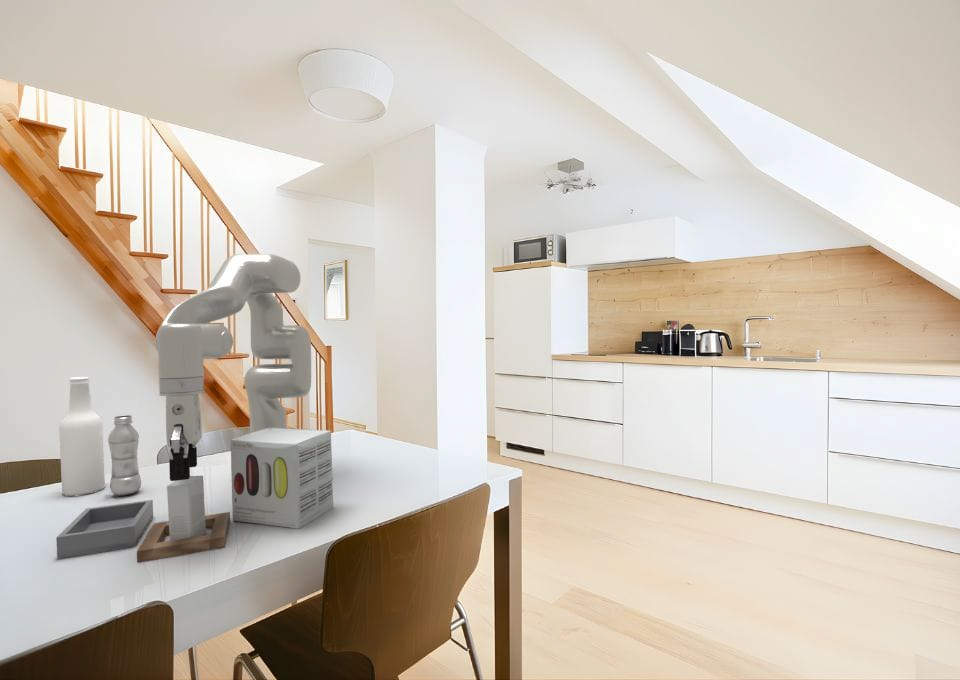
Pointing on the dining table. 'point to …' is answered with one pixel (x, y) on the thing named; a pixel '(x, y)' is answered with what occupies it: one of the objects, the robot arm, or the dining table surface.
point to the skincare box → (186, 508)
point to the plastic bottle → (124, 457)
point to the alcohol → (81, 443)
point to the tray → (105, 529)
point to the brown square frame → (158, 549)
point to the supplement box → (281, 476)
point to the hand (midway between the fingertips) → (184, 473)
